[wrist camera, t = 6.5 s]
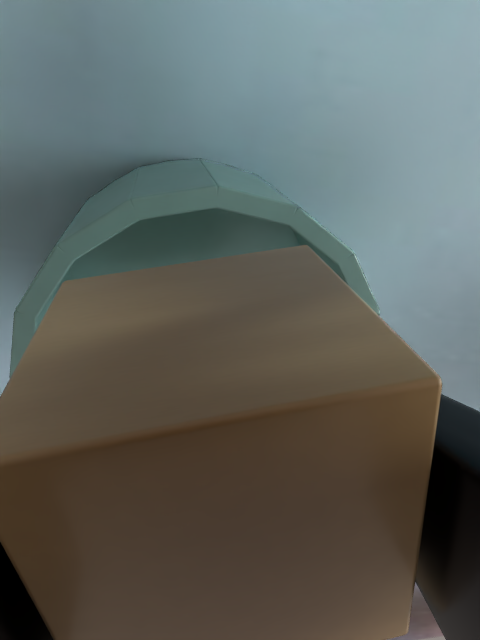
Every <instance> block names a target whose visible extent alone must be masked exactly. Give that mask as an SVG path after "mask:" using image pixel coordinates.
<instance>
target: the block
mask: <svg viewBox="0 0 480 640" xmlns="http://www.w3.org/2000/svg"><path fill="white" fill-rule="evenodd" d="M441 390H442V381H441V378H440V376H439V375H438V374H437V373H436V372H435V371H434V370H433V369H432V368H431V367H430V366H429V365H428V364H427V363H426V362H425V361H424V360H423V359H422V358H421V357H420V356H419V355H418V354H417V353H416V352H415V351H414V350H413V349H412V348H411V347H410V346H409V345H408V344H407V343H406V342H405V341H404V340H403V339H402V338H401V337H400V336H399V335H398V334H397V333H396V332H395V331H394V330H393V329H392V328H391V327H390V326H389V325H388V324H387V323H386V322H385V321H384V320H383V319H382V318H381V317H380V316H379V315H378V314H377V313H376V312H375V311H374V310H373V309H372V308H371V307H370V306H369V305H368V304H367V303H366V302H365V301H364V300H363V299H361V298H360V297H359V296H358V295H357V294H356V293H355V292H354V291H353V290H352V289H351V288H350V287H349V286H348V285H347V284H346V283H345V282H344V281H343V280H342V279H341V278H340V277H339V276H338V275H337V274H336V273H335V272H334V271H333V270H332V269H331V268H330V267H329V266H328V265H327V264H326V263H325V262H324V261H323V260H322V259H321V258H320V257H319V256H318V255H317V254H316V253H315V252H314V251H313V250H312V249H311V248H310V247H309V246H308V245H301V246H294V247H287V248H281V249H274V250H267V251H261V252H254V253H247V254H241V255H234V256H227V257H221V258H214V259H207V260H201V261H194V262H187V263H181V264H174V265H167V266H161V267H154V268H147V269H141V270H134V271H127V272H121V273H114V274H107V275H101V276H94V277H87V278H81V279H74V280H67V281H64V282H62V284H61V286H60V288H59V290H58V291H57V293H56V295H55V297H54V299H53V301H52V302H51V304H50V306H49V308H48V310H47V312H46V313H45V315H44V317H43V319H42V321H41V323H40V325H39V326H38V328H37V330H36V332H35V334H34V336H33V337H32V339H31V341H30V343H29V345H28V347H27V348H26V350H25V352H24V354H23V356H22V358H21V359H20V361H19V363H18V365H17V367H16V369H15V370H14V372H13V374H12V376H11V378H10V380H9V381H8V383H7V385H6V387H5V389H4V391H3V392H2V394H1V396H0V542H1V544H2V546H3V547H4V549H5V551H6V553H7V555H8V557H9V558H10V560H11V562H12V564H13V566H14V568H15V569H16V571H17V573H18V575H19V577H20V579H21V581H22V582H23V584H24V586H25V588H26V590H27V592H28V593H29V595H30V597H31V599H32V601H33V603H34V604H35V606H36V608H37V610H38V612H39V614H40V616H41V617H42V619H43V621H44V623H45V625H46V627H47V628H48V630H49V632H50V634H51V636H52V638H53V639H54V640H386V639H390V638H395V637H399V636H403V635H405V634H407V633H408V629H409V622H410V615H411V608H412V600H413V593H414V586H415V579H416V571H417V564H418V557H419V550H420V542H421V535H422V528H423V521H424V513H425V506H426V499H427V492H428V484H429V477H430V470H431V463H432V456H433V448H434V441H435V434H436V427H437V419H438V412H439V405H440V398H441Z"/></svg>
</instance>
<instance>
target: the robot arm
mask: <svg viewBox="0 0 480 640" xmlns="http://www.w3.org/2000/svg"><path fill="white" fill-rule="evenodd" d="M415 582H416V584H417V586H418V587H419V589H420V591H421V593H422V595H423V597H424V599H425V601H426V603H427V605H428V606H429V608H430V610H431V612H432V614H433V616H434V618H435V620H436V622H437V624H438V625H439V627H440V629H441V631H442V633H443V635H444V637H445V639H446V640H480V412H479V411H477V410H475V409H473V408H471V407H468V406H466V405H464V404H462V403H460V402H457V401H455V400H453V399H451V398H449V397H446V396H444V395H442V394H441V398H440V405H439V412H438V419H437V427H436V434H435V441H434V448H433V456H432V463H431V470H430V477H429V484H428V492H427V499H426V506H425V513H424V521H423V528H422V535H421V542H420V550H419V557H418V564H417V571H416V579H415ZM0 640H54V639H53V638H52V636H51V634H50V632H49V630H48V628H47V627H46V625H45V623H44V621H43V619H42V617H41V616H40V614H39V612H38V610H37V608H36V606H35V604H34V603H33V601H32V599H31V597H30V595H29V593H28V592H27V590H26V588H25V586H24V584H23V582H22V581H21V579H20V577H19V575H18V573H17V571H16V569H15V568H14V566H13V564H12V562H11V560H10V558H9V557H8V555H7V553H6V551H5V549H4V547H3V546H2V544H1V542H0Z"/></svg>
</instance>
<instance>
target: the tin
mask: <svg viewBox="0 0 480 640" xmlns="http://www.w3.org/2000/svg"><path fill="white" fill-rule="evenodd" d="M301 245H308V246H309V247H310V248H311V249H312V250H313V251H314V252H315V253H316V254H317V255H318V256H319V257H320V258H321V259H322V260H323V261H324V262H325V263H326V264H327V265H328V266H329V267H330V268H331V269H332V270H333V271H334V272H335V273H336V274H337V275H338V276H339V277H340V278H341V279H342V280H343V281H344V282H345V283H346V284H347V285H348V286H349V287H350V288H351V289H352V290H353V291H354V292H355V293H356V294H357V295H358V296H359V297H360V298H361V299H363V300H364V301H365V302H366V303H367V304H368V305H369V306H370V307H371V308H372V309H373V310H374V311H375V312H376V313H377V314H378V315H379V316H380V312H379V311H380V310H379V307H378V305H377V302H376V300H375V298H374V296H373V293H372V291H371V289H370V287H369V284H368V282H367V280H366V278H365V275H364V273H363V271H362V269H361V266H360V264H359V262H358V260H357V257H356V255H355V253H354V252H353V251H352V250H351V249H350V248H349V247H348V246H346V245H345V244H344V243H343V242H342V241H340V240H339V239H338V238H337V237H335V236H334V235H333V234H332V233H331V232H329V231H328V230H327V229H326V228H325V227H323V226H322V225H321V224H320V223H318V222H317V221H316V220H315V219H314V218H312V217H311V216H310V215H309V214H308V213H306V212H305V211H304V210H303V209H302V208H300V207H299V206H298V205H296V204H295V203H294V202H292V201H291V200H290V199H288V198H287V197H286V196H284V195H283V194H282V193H281V192H279V191H278V190H277V189H275V188H274V187H273V186H271V185H270V184H269V183H267V182H266V181H265V180H263V179H262V178H261V177H259V176H258V175H256V174H254V173H251V172H248V171H244V170H241V169H238V168H235V167H232V166H229V165H226V164H222V163H217V162H212V161H208V160H204V159H190V160H189V159H187V160H174V161H166V162H161V163H157V164H152V165H148V166H142V167H139V168H136V169H135V170H133V171H131V172H130V173H128V174H126V175H124V176H123V177H121V178H119V179H117V180H115V181H113V182H112V183H111V184H109V185H108V186H107V187H105V188H104V189H103V190H101V191H100V192H98V193H97V194H95V195H94V196H92V197H91V198H89V199H88V200H87V201H86V202H85V204H84V205H83V207H82V208H81V210H80V211H79V212H78V214H77V215H76V217H75V218H74V220H73V221H72V222H71V224H70V225H69V227H68V228H67V230H66V231H65V232H64V234H63V235H62V237H61V238H60V239H59V241H58V242H57V244H56V245H55V247H54V248H53V250H52V251H51V253H50V255H49V256H48V258H47V259H46V261H45V263H44V264H43V266H42V267H41V269H40V270H39V272H38V274H37V275H36V277H35V278H34V280H33V282H32V283H31V285H30V286H29V288H28V290H27V291H26V293H25V294H24V296H23V297H22V299H21V301H20V302H19V304H18V305H17V307H16V310H15V312H14V321H13V335H12V349H11V363H10V377H9V378H11V376H12V374H13V372H14V370H15V369H16V367H17V365H18V363H19V361H20V359H21V358H22V356H23V354H24V352H25V350H26V348H27V347H28V345H29V343H30V341H31V339H32V337H33V336H34V334H35V332H36V330H37V328H38V326H39V325H40V323H41V321H42V319H43V317H44V315H45V313H46V312H47V310H48V308H49V306H50V304H51V302H52V301H53V299H54V297H55V295H56V293H57V291H58V290H59V288H60V286H61V284H62V282H64V281H67V280H74V279H81V278H87V277H94V276H101V275H107V274H114V273H121V272H127V271H134V270H141V269H147V268H154V267H161V266H167V265H174V264H181V263H187V262H194V261H201V260H207V259H214V258H221V257H227V256H234V255H241V254H247V253H254V252H261V251H267V250H274V249H281V248H287V247H294V246H301Z"/></svg>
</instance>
